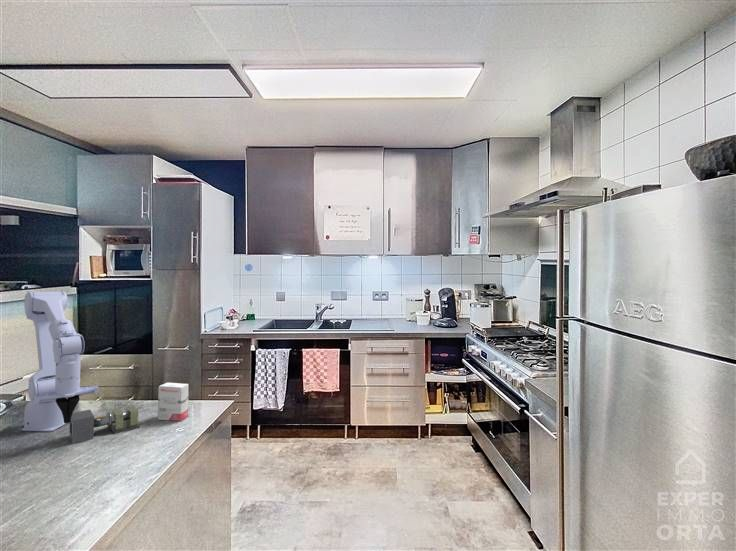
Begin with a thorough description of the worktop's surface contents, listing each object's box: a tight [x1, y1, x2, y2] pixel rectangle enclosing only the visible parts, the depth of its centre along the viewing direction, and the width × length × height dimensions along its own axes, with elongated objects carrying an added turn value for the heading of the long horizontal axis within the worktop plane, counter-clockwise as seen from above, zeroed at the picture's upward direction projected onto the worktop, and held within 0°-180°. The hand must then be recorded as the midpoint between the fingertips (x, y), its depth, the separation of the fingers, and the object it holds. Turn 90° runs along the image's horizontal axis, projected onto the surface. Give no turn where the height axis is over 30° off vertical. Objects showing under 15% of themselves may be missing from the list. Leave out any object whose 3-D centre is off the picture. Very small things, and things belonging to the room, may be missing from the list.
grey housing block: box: [68, 409, 95, 444], centre depth 109 cm, size 5×7×7 cm
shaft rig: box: [94, 404, 141, 435], centre depth 115 cm, size 13×8×6 cm, turn 136°
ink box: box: [157, 382, 189, 422], centre depth 125 cm, size 9×5×12 cm, turn 84°
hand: (66, 421), depth 107 cm, fingers closed
